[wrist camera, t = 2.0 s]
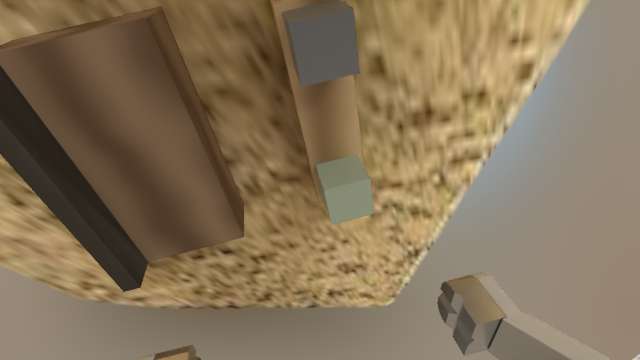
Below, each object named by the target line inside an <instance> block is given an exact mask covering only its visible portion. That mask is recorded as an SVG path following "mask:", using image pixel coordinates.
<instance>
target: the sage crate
mask: <svg viewBox="0 0 640 360" xmlns="http://www.w3.org/2000/svg"><path fill="white" fill-rule="evenodd" d="M316 169H317V173H318V178H319V182H320V187H321V191H322V196H323V199H324V203H325V206H326V209H327V212H328V215H329V219H330V222H331V225H332V224H336V223H339V222H343V221H347V220H351V219H355V218H358V217H362V216H366V215H370V214H374V207H373V198H372V188H371V178H370V177H369V175H368V173H367V171H366V169H365V167H364V166H363V164H362V162H361V160H360V158H359V156H358V155H357V154H356V155H352V156H348V157H344V158H340V159H336V160H332V161H329V162H325V163H321V164H317V165H316Z"/></svg>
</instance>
